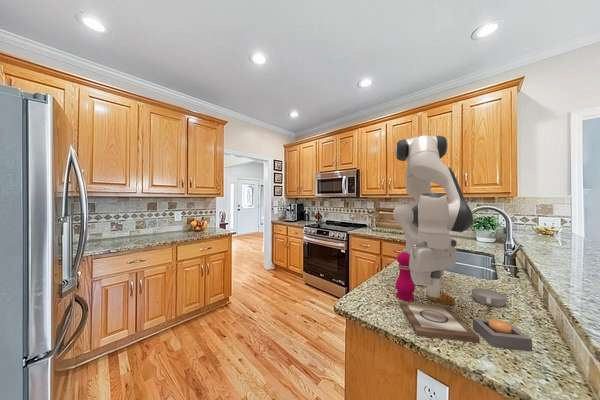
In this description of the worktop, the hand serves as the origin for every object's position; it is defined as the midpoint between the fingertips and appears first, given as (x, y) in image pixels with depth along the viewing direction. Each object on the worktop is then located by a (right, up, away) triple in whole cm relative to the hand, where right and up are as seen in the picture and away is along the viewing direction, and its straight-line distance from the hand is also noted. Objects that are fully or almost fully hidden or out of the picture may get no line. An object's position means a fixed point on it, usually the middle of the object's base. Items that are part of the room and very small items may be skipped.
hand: (433, 283), depth 71 cm
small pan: (+29, -13, +12) cm, 34 cm away
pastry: (+12, -13, +17) cm, 25 cm away
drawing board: (0, -12, 0) cm, 12 cm away
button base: (+14, -12, -9) cm, 20 cm away
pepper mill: (0, -13, +18) cm, 22 cm away
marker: (0, -4, 0) cm, 4 cm away
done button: (+14, -10, -9) cm, 19 cm away
